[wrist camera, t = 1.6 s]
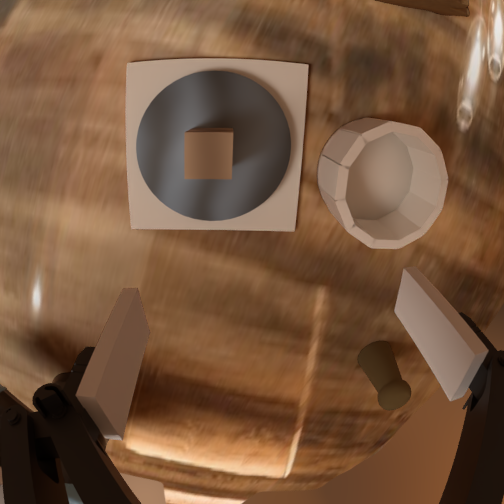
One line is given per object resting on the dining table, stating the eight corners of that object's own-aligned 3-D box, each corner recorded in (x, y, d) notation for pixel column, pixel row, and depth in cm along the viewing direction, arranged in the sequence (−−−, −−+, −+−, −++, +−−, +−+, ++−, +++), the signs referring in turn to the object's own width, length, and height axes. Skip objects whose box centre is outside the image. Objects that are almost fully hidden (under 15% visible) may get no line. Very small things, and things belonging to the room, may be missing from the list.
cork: (370, 337, 46) (396, 388, 36) (397, 343, 47) (424, 391, 38) (350, 364, 48) (371, 415, 39) (377, 368, 50) (399, 416, 40)
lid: (142, 217, 35) (124, 243, 28) (139, 75, 28) (116, 68, 21) (283, 218, 36) (295, 245, 29) (293, 75, 29) (310, 68, 22)
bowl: (311, 222, 37) (327, 247, 31) (322, 111, 31) (344, 112, 25) (404, 226, 38) (432, 249, 32) (421, 128, 32) (455, 136, 26)
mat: (132, 227, 36) (131, 229, 35) (128, 63, 27) (127, 63, 27) (293, 229, 37) (294, 231, 37) (307, 65, 29) (308, 64, 28)
